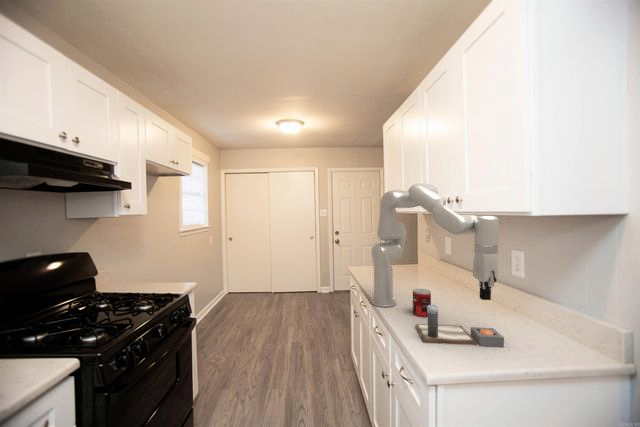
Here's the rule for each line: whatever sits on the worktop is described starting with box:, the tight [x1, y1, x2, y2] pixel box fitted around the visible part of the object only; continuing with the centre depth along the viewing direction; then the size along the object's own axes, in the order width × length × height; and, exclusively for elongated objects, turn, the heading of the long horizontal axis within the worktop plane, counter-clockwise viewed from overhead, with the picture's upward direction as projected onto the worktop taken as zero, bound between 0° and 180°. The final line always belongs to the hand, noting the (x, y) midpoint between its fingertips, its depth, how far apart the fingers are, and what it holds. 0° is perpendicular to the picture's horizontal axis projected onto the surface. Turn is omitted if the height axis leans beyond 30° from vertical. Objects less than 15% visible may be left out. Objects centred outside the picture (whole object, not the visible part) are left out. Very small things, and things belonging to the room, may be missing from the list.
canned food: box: [412, 288, 432, 318], centre depth 132 cm, size 8×8×11 cm
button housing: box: [470, 326, 505, 348], centre depth 105 cm, size 8×8×4 cm
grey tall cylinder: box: [427, 304, 439, 338], centre depth 106 cm, size 4×4×11 cm
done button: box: [480, 329, 494, 335], centre depth 105 cm, size 4×4×3 cm
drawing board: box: [414, 323, 477, 346], centre depth 110 cm, size 14×18×1 cm
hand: (485, 299), depth 105 cm, fingers closed
